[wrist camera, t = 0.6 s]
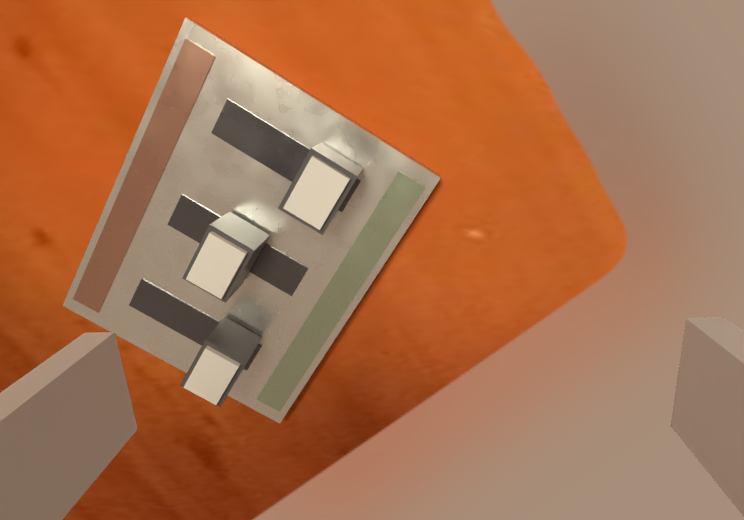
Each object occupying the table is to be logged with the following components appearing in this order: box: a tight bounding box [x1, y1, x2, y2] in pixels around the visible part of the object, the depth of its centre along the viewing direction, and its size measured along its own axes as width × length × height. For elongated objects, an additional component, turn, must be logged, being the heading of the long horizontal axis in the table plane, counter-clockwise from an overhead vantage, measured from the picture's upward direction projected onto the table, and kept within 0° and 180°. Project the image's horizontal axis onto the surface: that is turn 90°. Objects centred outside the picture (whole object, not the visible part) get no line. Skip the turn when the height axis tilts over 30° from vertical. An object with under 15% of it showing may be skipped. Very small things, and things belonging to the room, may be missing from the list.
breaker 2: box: [180, 317, 262, 407], centre depth 34 cm, size 3×4×4 cm
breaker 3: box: [278, 143, 363, 235], centre depth 29 cm, size 3×4×4 cm
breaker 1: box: [182, 212, 270, 303], centre depth 31 cm, size 3×4×4 cm
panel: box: [63, 18, 440, 424], centre depth 34 cm, size 18×22×2 cm
